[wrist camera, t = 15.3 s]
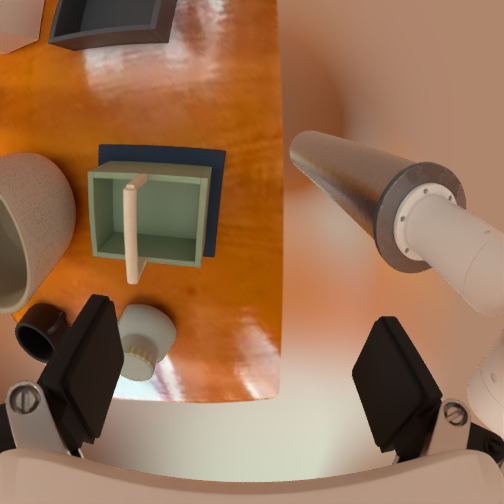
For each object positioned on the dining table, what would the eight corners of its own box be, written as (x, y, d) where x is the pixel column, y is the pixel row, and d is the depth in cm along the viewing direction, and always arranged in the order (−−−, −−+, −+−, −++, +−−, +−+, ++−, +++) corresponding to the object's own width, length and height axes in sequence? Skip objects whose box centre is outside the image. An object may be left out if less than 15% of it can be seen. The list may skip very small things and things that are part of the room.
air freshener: (137, 286, 41) (118, 331, 32) (185, 313, 44) (177, 361, 35) (112, 329, 44) (95, 373, 36) (154, 352, 47) (144, 397, 38)
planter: (86, 136, 31) (13, 159, 17) (97, 257, 38) (50, 324, 25) (-2, 150, 29) (-72, 179, 16) (15, 252, 37) (-38, 304, 23)
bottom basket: (182, -24, 22) (174, -46, 17) (168, 43, 27) (155, 29, 21) (88, -13, 21) (67, -28, 15) (73, 50, 25) (47, 43, 19)
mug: (56, 343, 46) (43, 369, 39) (25, 310, 42) (7, 334, 36) (89, 321, 44) (75, 350, 37) (54, 282, 40) (34, 308, 33)
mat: (225, 150, 34) (225, 151, 33) (214, 256, 40) (214, 257, 39) (100, 144, 32) (98, 144, 31) (102, 245, 38) (101, 246, 37)
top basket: (212, 166, 34) (203, 191, 24) (204, 243, 38) (196, 294, 28) (109, 160, 32) (64, 184, 22) (111, 234, 37) (74, 279, 26)
